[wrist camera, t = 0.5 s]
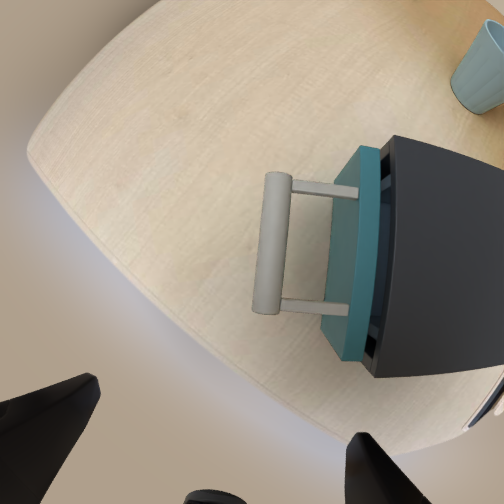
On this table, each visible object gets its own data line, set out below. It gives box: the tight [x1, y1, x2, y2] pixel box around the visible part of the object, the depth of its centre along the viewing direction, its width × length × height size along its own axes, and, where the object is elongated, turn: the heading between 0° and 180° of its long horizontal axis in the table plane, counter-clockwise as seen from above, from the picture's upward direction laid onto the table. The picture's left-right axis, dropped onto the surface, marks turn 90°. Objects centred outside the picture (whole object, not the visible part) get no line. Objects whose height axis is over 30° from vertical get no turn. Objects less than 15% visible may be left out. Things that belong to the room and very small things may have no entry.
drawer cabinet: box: [360, 135, 504, 378], centre depth 16 cm, size 15×13×9 cm
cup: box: [451, 19, 504, 114], centre depth 15 cm, size 8×8×10 cm
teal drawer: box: [252, 145, 391, 361], centre depth 16 cm, size 18×11×8 cm, turn 84°
